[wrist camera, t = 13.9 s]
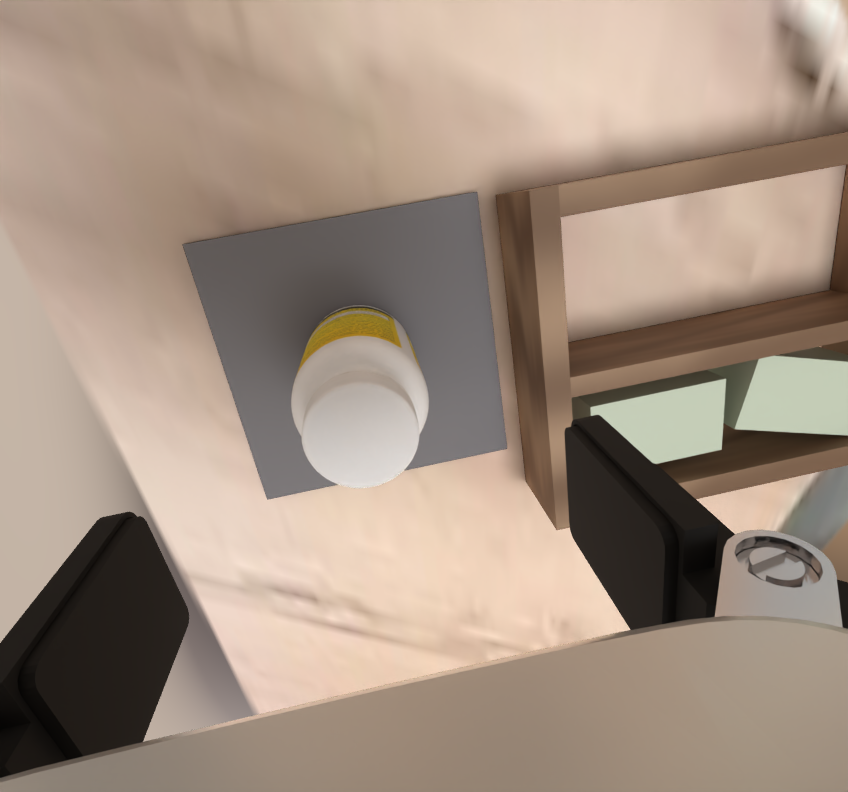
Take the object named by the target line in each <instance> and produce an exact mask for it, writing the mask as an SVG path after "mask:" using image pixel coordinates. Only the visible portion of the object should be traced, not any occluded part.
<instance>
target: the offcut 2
mask: <svg viewBox="0 0 848 792" xmlns="http://www.w3.org/2000/svg"><path fill="white" fill-rule="evenodd" d="M708 371H710V372H712V373H715V374H717V375H719V376H721V377H724V378H726V389H725V405H724V421H723V423H725V424H726V425H728V426H730V427H732V428H733V429H739V430H757V431H775V432H793V433H812V434H830V435H848V355H846V354H842V353H839V352H835V351H832V350H828V349H825V348H822V347H814V348H809V349H804V350H799V351H794V352H790V353H785V354H780V355H775V356H770V357H766V358H761V359H756V360H751V361H746V362H741V363H737V364H732V365H727V366H722V367H717V368H713V369H708Z"/></svg>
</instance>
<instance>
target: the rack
mask: <svg viewBox="0 0 848 792" xmlns="http://www.w3.org/2000/svg"><path fill="white" fill-rule="evenodd" d="M845 164H847V168H846V175H845V182H844V190H843V197H842V205H841V212H840V219H839V227H838V234H837V242H836V249H835V256H834V264H833V271H832V279H831V286H830V290H828V291H824V292H819V293H814V294H809V295H804V296H799V297H794V298H789V299H784V300H779V301H774V302H769V303H764V304H759V305H754V306H749V307H744V308H739V309H734V310H729V311H724V312H719V313H714V314H709V315H704V316H699V317H694V318H689V319H684V320H679V321H674V322H669V323H664V324H659V325H654V326H649V327H644V328H639V329H634V330H629V331H624V332H619V333H614V334H609V335H604V336H599V337H594V338H589V339H584V340H579V341H574V342H569V343H568V334H567V317H566V301H565V285H564V268H563V252H562V235H561V219H560V217H563V216H569V215H574V214H579V213H585V212H590V211H596V210H601V209H607V208H612V207H617V206H623V205H628V204H634V203H639V202H645V201H650V200H655V199H661V198H666V197H672V196H677V195H683V194H688V193H693V192H699V191H704V190H710V189H715V188H721V187H726V186H731V185H737V184H742V183H748V182H753V181H759V180H764V179H769V178H775V177H780V176H786V175H791V174H797V173H802V172H807V171H813V170H818V169H824V168H829V167H834V166H840V165H845ZM496 201H497V210H498V220H499V229H500V239H501V248H502V258H503V267H504V277H505V287H506V296H507V306H508V315H509V325H510V334H511V344H512V354H513V363H514V373H515V382H516V392H517V401H518V411H519V420H520V430H521V440H522V449H523V459H524V468H525V478H526V482H527V484H528V485H529V487H530V489H531V490H532V492H533V493H534V495H535V496H536V498H537V500H538V501H539V503H540V504H541V506H542V508H543V509H544V511H545V512H546V514H547V515H548V517H549V519H550V520H551V522H552V523H553V525H554V527H555V528H556V530H560V529H565V528H569V527H570V525H569V509H568V491H567V473H566V454H565V436H564V433H565V429H566V428H567V427H571V424H572V421H573V416H572V399H571V398H573V397H578V396H582V395H587V394H592V393H597V392H602V391H607V390H611V389H616V388H621V387H626V386H631V385H635V384H640V383H645V382H650V381H655V380H660V379H664V378H669V377H674V376H679V375H684V374H688V373H693V372H698V371H703V370H708V369H713V368H717V367H722V366H727V365H732V364H737V363H741V362H746V361H751V360H756V359H761V358H766V357H770V356H775V355H780V354H785V353H790V352H794V351H799V350H804V349H809V348H814V347H819V346H822V348H825V349H828V350H832V351H835V352H839V353H842V354H846V355H848V132H843V133H837V134H832V135H826V136H821V137H815V138H810V139H804V140H799V141H793V142H787V143H782V144H776V145H771V146H765V147H760V148H754V149H749V150H743V151H738V152H732V153H726V154H721V155H715V156H710V157H704V158H699V159H693V160H688V161H682V162H676V163H671V164H665V165H660V166H654V167H649V168H643V169H638V170H632V171H626V172H621V173H615V174H610V175H604V176H599V177H593V178H588V179H582V180H576V181H571V182H565V183H560V184H554V185H549V186H543V187H538V188H532V189H526V190H521V191H515V192H510V193H504V194H499V195H496ZM656 465H658V466H659V467H660V468H662V469H663V470H664V471H665V472H666V473H667V474H668V475H669V476H670V477H672V478H673V479H674V480H675V481H676V482H677V483H678V484H679V485H680V486H682V487H683V488H684V489H685V490H686V491H687V492H688V493H689V494H690V495H692V496H693V497H694V498H695V499H699V498H703V497H708V496H712V495H717V494H721V493H725V492H730V491H734V490H739V489H743V488H748V487H752V486H757V485H761V484H766V483H770V482H775V481H779V480H783V479H788V478H792V477H797V476H801V475H806V474H810V473H815V472H819V471H824V470H828V469H833V468H837V467H842V466H846V465H848V435H830V434H812V433H793V432H775V431H757V430H739V429H733V428H732V427H730V426H728V425H726V424H725V423H723V437H722V450H718V451H713V452H708V453H704V454H699V455H695V456H690V457H686V458H681V459H676V460H672V461H667V462H663V463H658V464H656Z"/></svg>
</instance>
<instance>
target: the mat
mask: <svg viewBox="0 0 848 792" xmlns="http://www.w3.org/2000/svg"><path fill="white" fill-rule="evenodd" d="M182 245H183V248H184V251H185V254H186V257H187V260H188V263H189V266H190V269H191V272H192V275H193V278H194V281H195V284H196V287H197V290H198V293H199V296H200V299H201V302H202V305H203V308H204V311H205V314H206V317H207V320H208V323H209V326H210V329H211V332H212V335H213V338H214V341H215V344H216V347H217V350H218V353H219V356H220V359H221V362H222V365H223V368H224V371H225V374H226V377H227V380H228V383H229V386H230V389H231V392H232V395H233V398H234V401H235V404H236V407H237V410H238V413H239V416H240V419H241V422H242V425H243V428H244V431H245V434H246V437H247V440H248V443H249V446H250V449H251V452H252V455H253V458H254V461H255V464H256V467H257V470H258V473H259V476H260V479H261V482H262V485H263V488H264V491H265V494H266V497H267V500H268V499H273V498H277V497H282V496H287V495H291V494H296V493H301V492H306V491H310V490H315V489H320V488H324V487H329V486H334V485H339V484H336V483H334V482H331V481H330V480H328V479H326V478H325V477H323V476H322V475H321V474H320V473H318V472H317V471H316V470H315V469H314V467H313V466H312V465H311V463H310V462H309V460H308V459H307V457H306V455H305V452H304V449H303V446H302V437H301V435H300V433H299V432H298V430H297V427H296V425H295V422H294V419H293V415H292V408H291V397H292V389H293V385H294V381H295V378H296V375H297V372H298V369H299V366H300V363H301V361H302V358H303V355H304V352H305V349H306V346H307V343H308V340H309V338H310V336H311V334H312V332H313V331H314V329H315V328H316V327H317V325H318V324H319V323H320V322H321V321H322V320H323V319H324V318H325V317H326V316H328V315H329V314H330V313H332V312H334V311H336V310H338V309H340V308H343V307H347V306H353V305H365V306H371V307H375V308H378V309H380V310H383V311H385V312H387V313H388V314H390V315H391V316H393V317H394V318H395V319H396V320H397V321H398V322H399V323H400V324H401V325H402V327H403V328H404V330H405V331H406V333H407V335H408V337H409V339H410V341H411V344H412V346H413V349H414V352H415V355H416V358H417V360H418V363H419V366H420V368H421V371H422V374H423V376H424V379H425V382H426V385H427V390H428V397H429V408H428V414H427V419H426V422H425V425H424V427H423V429H422V431H421V433H420V435H419V443H418V447H417V450H416V453H415V455H414V457H413V459H412V461H411V462H410V464H409V465H408V466H407V467H406V469H405V470H409V469H414V468H419V467H423V466H428V465H433V464H437V463H442V462H447V461H452V460H456V459H461V458H466V457H470V456H475V455H480V454H485V453H489V452H494V451H499V450H503V449H507V442H506V433H505V425H504V416H503V408H502V399H501V391H500V382H499V374H498V365H497V357H496V348H495V339H494V331H493V322H492V314H491V305H490V297H489V288H488V280H487V271H486V263H485V254H484V246H483V237H482V229H481V220H480V212H479V203H478V195H477V192H473V193H467V194H461V195H456V196H450V197H445V198H439V199H433V200H428V201H422V202H417V203H411V204H406V205H400V206H394V207H389V208H383V209H378V210H372V211H366V212H361V213H355V214H350V215H344V216H339V217H333V218H327V219H322V220H316V221H311V222H305V223H300V224H294V225H288V226H283V227H277V228H272V229H266V230H260V231H255V232H249V233H244V234H238V235H233V236H227V237H221V238H216V239H210V240H205V241H199V242H194V243H188V244H182Z"/></svg>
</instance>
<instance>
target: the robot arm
mask: <svg viewBox="0 0 848 792" xmlns="http://www.w3.org/2000/svg"><path fill="white" fill-rule="evenodd" d="M564 436H565V454H566V473H567V491H568V509H569V525H570V530H571V534H572V536H573V539H574V540H575V542H576V544H577V545H578V547H579V548H580V550H581V552H582V553H583V555H584V556H585V558H586V560H587V561H588V563H589V564H590V566H591V568H592V569H593V571H594V572H595V574H596V575H597V577H598V579H599V580H600V582H601V583H602V585H603V587H604V588H605V590H606V591H607V593H608V595H609V596H610V598H611V599H612V601H613V602H614V604H615V606H616V607H617V609H618V610H619V612H620V614H621V615H622V617H623V618H624V620H625V622H626V623H627V625H628V626H629V628H630V629H631V630H629V631H624V632H618V633H614V634H609V635H605V636H600V637H596V638H591V639H587V640H582V641H578V642H573V643H568V644H563V645H559V646H554V647H550V648H545V649H541V650H536V651H532V652H528V653H523V654H519V655H514V656H510V657H505V658H501V659H497V660H492V661H488V662H483V663H479V664H475V665H470V666H466V667H461V668H457V669H453V670H448V671H444V672H439V673H435V674H430V675H426V676H422V677H417V678H413V679H409V680H404V681H400V682H396V683H391V684H387V685H383V686H378V687H374V688H370V689H366V690H361V691H357V692H353V693H348V694H344V695H340V696H335V697H331V698H327V699H323V700H318V701H314V702H310V703H305V704H301V705H297V706H293V707H288V708H284V709H280V710H275V711H271V712H267V713H263V714H258V715H254V716H250V717H246V718H242V719H238V720H233V721H229V722H225V723H221V724H217V725H212V726H208V727H204V728H200V729H196V730H191V731H187V732H183V733H179V734H175V735H170V736H166V737H162V738H158V739H154V740H150V741H145V742H143V740H144V737H145V735H146V732H147V730H148V727H149V724H150V722H151V719H152V717H153V714H154V712H155V709H156V706H157V704H158V701H159V699H160V696H161V694H162V691H163V688H164V686H165V683H166V681H167V678H168V675H169V673H170V670H171V668H172V665H173V663H174V660H175V658H176V655H177V652H178V650H179V647H180V645H181V642H182V640H183V637H184V634H185V632H186V629H187V627H188V623H189V612H188V608H187V606H186V604H185V602H184V600H183V598H182V595H181V593H180V591H179V589H178V587H177V585H176V583H175V581H174V579H173V577H172V575H171V572H170V571H169V568H168V566H167V564H166V562H165V560H164V558H163V556H162V553H161V551H160V549H159V547H158V545H157V543H156V541H155V539H154V537H153V534H152V532H151V530H150V528H149V526H148V524H147V522H146V521H145V519H144V518H143V517H140V516H139V517H137V516H136V515H135V514H134V513H132V512H126V513H121V514H116V515H112V516H106V517H102V518H100V519H99V520H97V521H96V523H95V524H94V525H93V527H92V528H91V529H90V530H89V532H88V533H87V534H86V536H85V537H84V538H83V539H82V540H81V542H80V543H79V544H78V546H77V547H76V548H75V549H74V551H73V552H72V553H71V555H70V556H69V557H68V558H67V559H66V561H65V562H64V563H63V565H62V566H61V567H60V568H59V570H58V571H57V572H56V574H55V575H54V576H53V577H52V578H51V580H50V581H49V582H48V584H47V585H46V586H45V587H44V589H43V590H42V591H41V592H40V594H39V595H38V596H37V598H36V599H35V600H34V601H33V602H32V604H31V605H30V606H29V608H28V609H27V610H26V611H25V613H24V614H23V615H22V617H21V618H20V619H19V620H18V621H17V623H16V624H15V625H14V626H13V628H12V629H11V630H10V632H9V633H8V634H7V635H6V637H5V638H4V639H3V640H2V642H1V643H0V792H848V583H847V582H844V581H840V580H837V578H836V572H835V569H834V567H833V564H832V563H831V561H830V560H829V559H828V558H827V557H826V556H825V555H824V554H823V552H821V551H820V550H818V549H817V548H815V547H814V546H812V545H811V544H809V543H807V542H805V541H803V540H801V539H798V538H796V537H794V536H791V535H787V534H783V533H780V532H775V531H767V530H750V531H744V532H741V533H738V534H734V533H733V532H732V531H730V530H729V529H728V528H727V527H726V526H725V525H724V524H723V523H722V522H720V521H719V520H718V519H717V518H716V517H715V516H714V515H713V514H712V513H710V512H709V511H708V510H707V509H706V508H705V507H704V506H703V505H702V504H700V503H699V502H698V501H697V500H696V499H695V498H694V497H693V496H692V495H690V494H689V493H688V492H687V491H686V490H685V489H684V488H683V487H682V486H680V485H679V484H678V483H677V482H676V481H675V480H674V479H673V478H672V477H670V476H669V475H668V474H667V473H666V472H665V471H664V470H663V469H662V468H660V467H659V466H658V465H656V464H655V463H652V462H651V461H650V460H649V459H648V458H647V457H645V456H644V455H643V454H642V453H641V452H640V451H639V450H638V449H637V448H636V447H634V446H633V445H632V444H631V443H630V442H629V441H628V440H627V439H626V438H625V437H623V436H622V435H621V434H620V433H619V432H618V431H617V430H616V429H615V428H614V427H612V426H611V425H610V424H609V423H608V422H607V421H606V420H605V419H604V418H603V417H601V416H600V415H593V416H589V417H584V418H579V419H574V420H573V421H572V424H571V427H567V428H566V429H565V433H564Z"/></svg>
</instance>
